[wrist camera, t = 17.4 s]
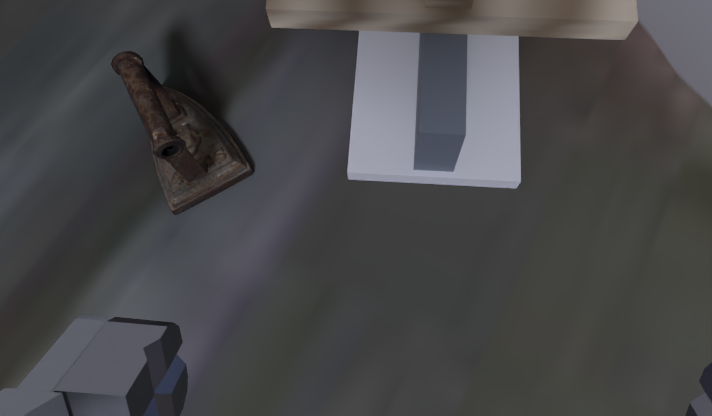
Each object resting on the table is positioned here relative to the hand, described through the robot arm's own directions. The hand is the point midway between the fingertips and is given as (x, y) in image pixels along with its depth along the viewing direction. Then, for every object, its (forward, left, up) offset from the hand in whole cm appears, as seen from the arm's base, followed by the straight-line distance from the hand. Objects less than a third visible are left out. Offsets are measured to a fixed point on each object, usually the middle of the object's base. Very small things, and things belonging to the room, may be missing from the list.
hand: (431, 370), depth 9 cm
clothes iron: (-25, -2, -32) cm, 40 cm away
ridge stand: (-18, +18, -31) cm, 40 cm away
